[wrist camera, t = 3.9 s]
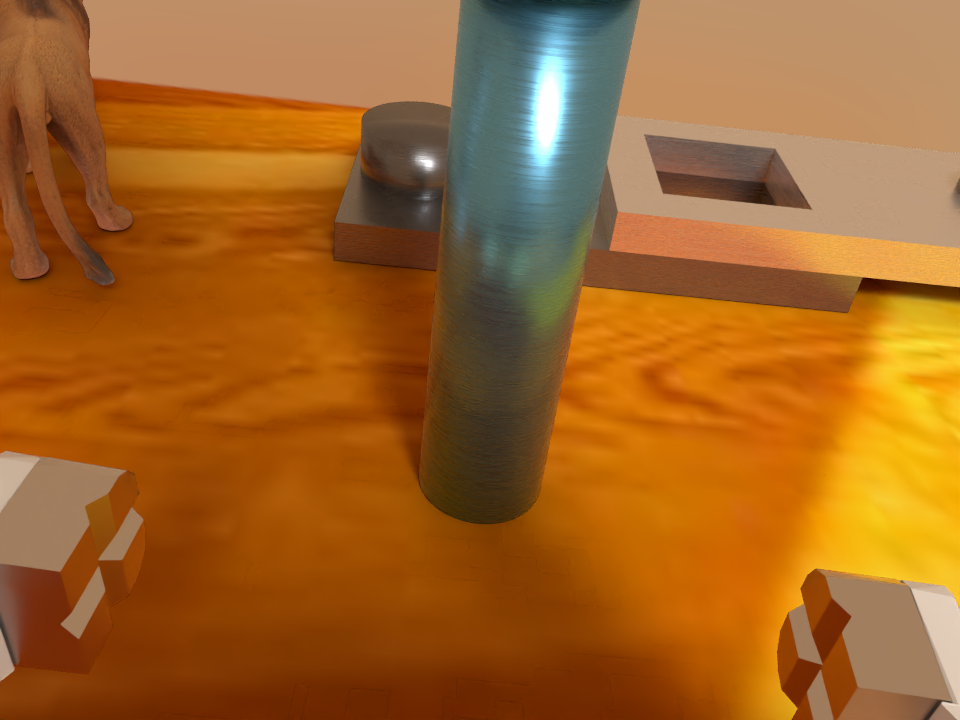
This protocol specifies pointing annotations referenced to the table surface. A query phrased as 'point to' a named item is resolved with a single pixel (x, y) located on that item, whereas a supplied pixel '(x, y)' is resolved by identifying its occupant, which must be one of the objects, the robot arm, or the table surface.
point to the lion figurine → (50, 129)
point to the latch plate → (691, 209)
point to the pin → (515, 240)
